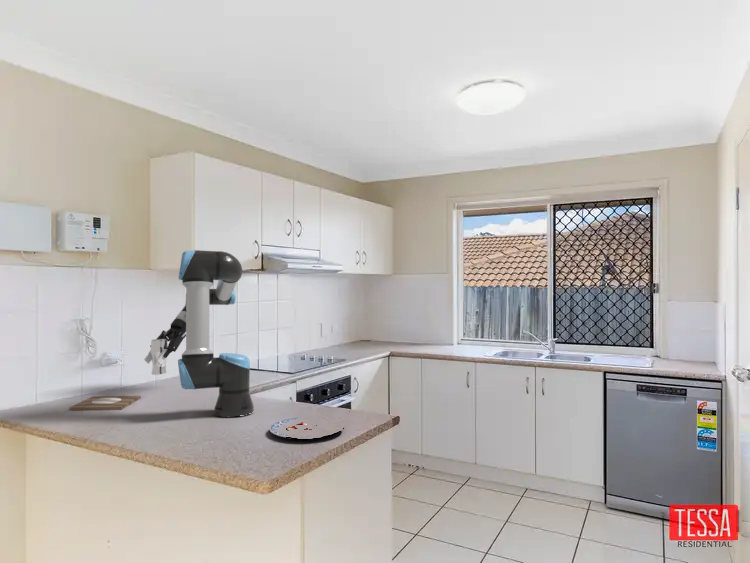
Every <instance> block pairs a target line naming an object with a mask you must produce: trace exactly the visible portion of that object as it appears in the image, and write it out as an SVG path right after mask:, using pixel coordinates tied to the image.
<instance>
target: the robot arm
mask: <svg viewBox="0 0 750 563" xmlns="http://www.w3.org/2000/svg"><path fill="white" fill-rule="evenodd" d="M180 259H181V260H180V266H179V273H178V280H180V281H182V284H181V285H182V286H184V288H185V289H186V291H185V292H186V293H185V304H184V306H183V308H182V309H181V310H180V311H179V313H178V314H177V315H176V316H175V319H173V320H172V322H171V323H170V328H169V329H168V330H166V331H165V330H162V331H161V333H160V334H159V335H158V336H157V337H156V339H167V343H168V347H167V348H166V349H167V350H166V349H165V350H164V351H163V352H162V354H161V355H160V356H159V358H158V359H157V360H156V361H157V362H158V363H159V364H160V365H161V364H162V363H163V361H164V360H165V359H166V360H167V357H168V356H169V355H170V354H171V353H172V352H174V353H175V352H176V351H177V350H178V348H179V347H180V345H181V343H182V342H183V340H184V339H185V350H184V352H182V353H181V358H179V359H178V360H177V364H178V372H179V373H178V375H179V380H180V385H181V388H182V389H184V390H201V389H202V390H203V389H214V388H215V389H217V388H218V395H217V399H216V402H215V405H214V409H213V414H215V415H214V416H215V417H219V416H223V417H222V418H229V417H228V416H240V415H246V414H249V413H252V412H253V411H255V409H254V403H253V400H252V396H251V394H250V393H251V392H250V374H251V373H250V369H251V366H250V362H251V361H250V358H249V357H248V356H247V355H244V354H238V353H231V352H230V353H227V352H226V353H224V352H223V353H219V355H218V357H214V352H213V351H212V350H211V348H210V306H211V305H212V306H223V305H224V306H228V305H234V304H235V303H236V294H237V293H236V290H235V288H236V284H237V282H238V281H240V280H241V277H242V275H243V267H242V264H241V262H240V261H239V259H238V258H237V257H235V256H234V255H233V254H231V253H230V252H229V253H228V251H220V250H219V251H216V250H213V251H212V250H200V249H198V250H196V249H192V250H184V251H183V252H182V254H181V257H180ZM214 281H217V285H216V288H211V287H212V286H213V285H214ZM150 348H151V345H150ZM143 360H144V361H145V362H146V363H147V364H150V363H151V362H152V357H151V350H150V351H149V352H148V354H147V355H146V357H145V358H144V359H143ZM253 413H254V412H253ZM253 413H252V414H253ZM246 416H247V415H246Z"/></svg>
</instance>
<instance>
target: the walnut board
mask: <svg viewBox="0 0 750 563" xmlns="http://www.w3.org/2000/svg"><path fill="white" fill-rule="evenodd" d="M140 399H141V395H105V396H104V395H103V396H102V395H101V396H100V395H99V396H95V395H93V396H91V397H89V398H86V399H84V400H81V402H78V403H76V404H74V405H71V406H70V407H69V408H68V409H69V411H111V410H112V411H116V410H117V411H119V410H121V411H122V410H124V409H125V408H126V407H128V406H130V405H131V404H133V403H135V402H137V401H138V400H140Z"/></svg>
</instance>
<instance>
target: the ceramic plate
mask: <svg viewBox="0 0 750 563" xmlns="http://www.w3.org/2000/svg"><path fill="white" fill-rule="evenodd" d="M303 417H304V416H303ZM303 417H302V416H301V417H292V418H286V419H283V420H278V421H276V422H275V423H273V424H271V425H270V426H269V431H270V433H271V434H273V435H275V436H278V437H282V438H286V437H291V436H288V435H284V434H281V433H279V432H278V431H277V428H278V427H279V426H280V425H282V424H284V423H287V422H289V421H291V420H296V419H300V418H303ZM296 425H307V424H306V423H304V422H301V423H298V424H296ZM316 426H317V425H316ZM292 429H298V428H297V427H295V426H292V427H288V428H286V430H287V431H289V430H292ZM304 430H308V428H306V429H304ZM309 430H312V429H309Z"/></svg>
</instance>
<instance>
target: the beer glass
mask: <svg viewBox="0 0 750 563" xmlns="http://www.w3.org/2000/svg"><path fill="white" fill-rule="evenodd" d="M150 342H151V343H150V346H151V347H150V351H151V357H152V360H151V362H152V368H151V375H153V376H154V375H157V376H160V375H166V374H167V367H166V365H167V364H166V363H167V358H166V359H165V360H164V361H163V363H162V364H161V365H160V364H159V363H158V362H157V361H156V360H157V359H158V358H159V356H160V355H161V354H162V352H163V351H164V350H165V349H166V348H167V347H168V345H169V342H167V339H157V338H156V339H151V340H150ZM166 350H167V349H166Z"/></svg>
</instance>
